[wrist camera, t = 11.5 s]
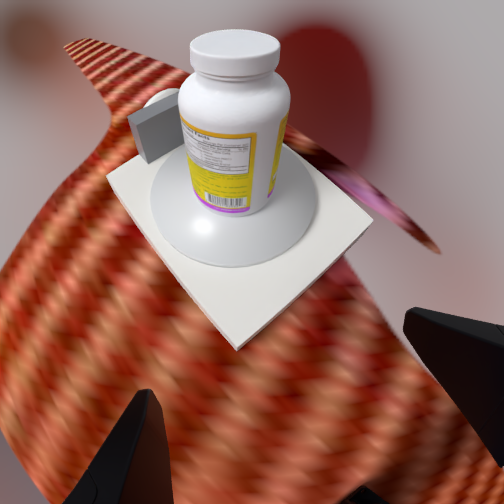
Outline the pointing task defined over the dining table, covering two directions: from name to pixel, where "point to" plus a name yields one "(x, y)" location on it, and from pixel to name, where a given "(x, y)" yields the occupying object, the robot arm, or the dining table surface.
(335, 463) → the dining table surface
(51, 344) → the dining table surface
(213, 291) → the kitchen scale
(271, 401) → the dining table surface
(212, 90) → the supplement bottle
